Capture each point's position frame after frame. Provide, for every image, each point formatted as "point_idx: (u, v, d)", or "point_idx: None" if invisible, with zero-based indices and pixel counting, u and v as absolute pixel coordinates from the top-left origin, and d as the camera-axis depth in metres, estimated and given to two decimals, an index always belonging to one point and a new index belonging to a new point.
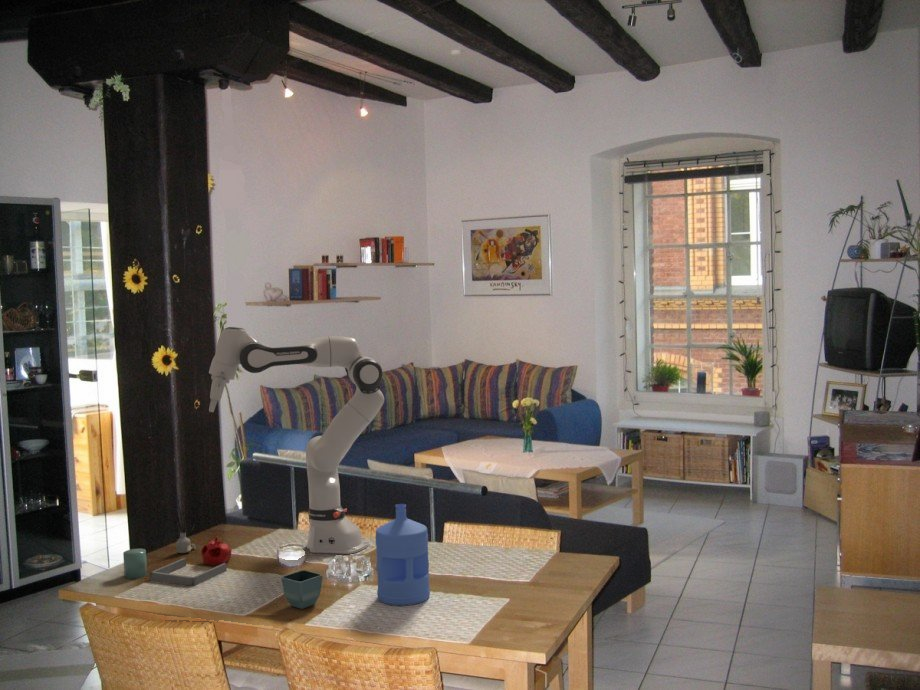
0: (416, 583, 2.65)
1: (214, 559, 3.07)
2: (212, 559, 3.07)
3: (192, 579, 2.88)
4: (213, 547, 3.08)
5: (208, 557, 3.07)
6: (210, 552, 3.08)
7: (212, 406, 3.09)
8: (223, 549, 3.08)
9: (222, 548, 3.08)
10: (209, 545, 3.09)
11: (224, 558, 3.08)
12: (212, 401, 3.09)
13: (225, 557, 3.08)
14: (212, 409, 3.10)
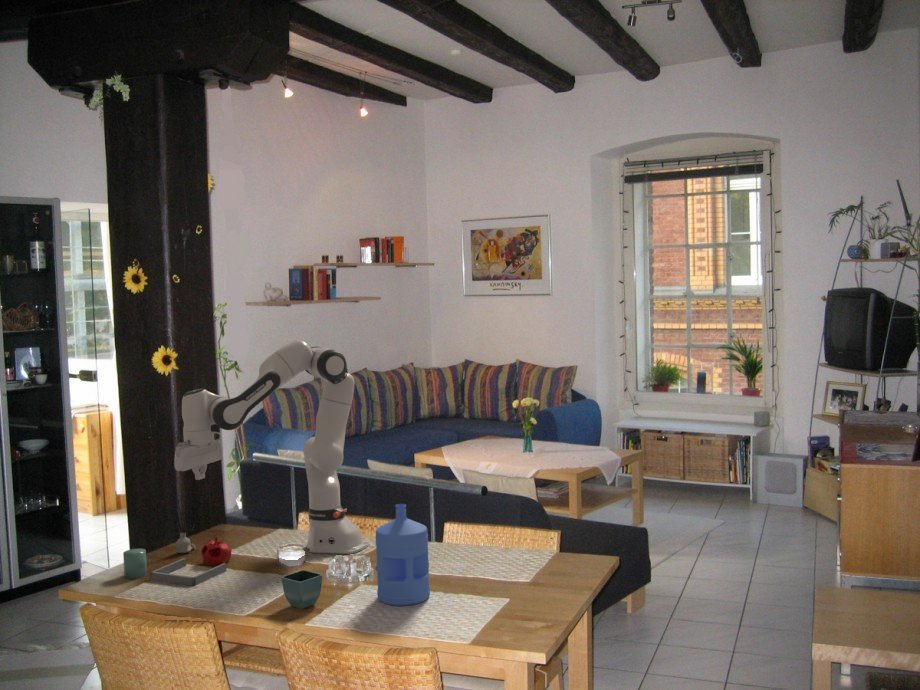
0: (416, 583, 2.65)
1: (214, 559, 3.07)
2: (212, 559, 3.07)
3: (192, 579, 2.88)
4: (213, 547, 3.08)
5: (208, 557, 3.07)
6: (210, 552, 3.08)
7: (196, 474, 3.02)
8: (223, 549, 3.08)
9: (222, 548, 3.08)
10: (209, 545, 3.09)
11: (224, 558, 3.08)
12: (193, 469, 3.02)
13: (225, 557, 3.08)
14: (197, 477, 3.03)
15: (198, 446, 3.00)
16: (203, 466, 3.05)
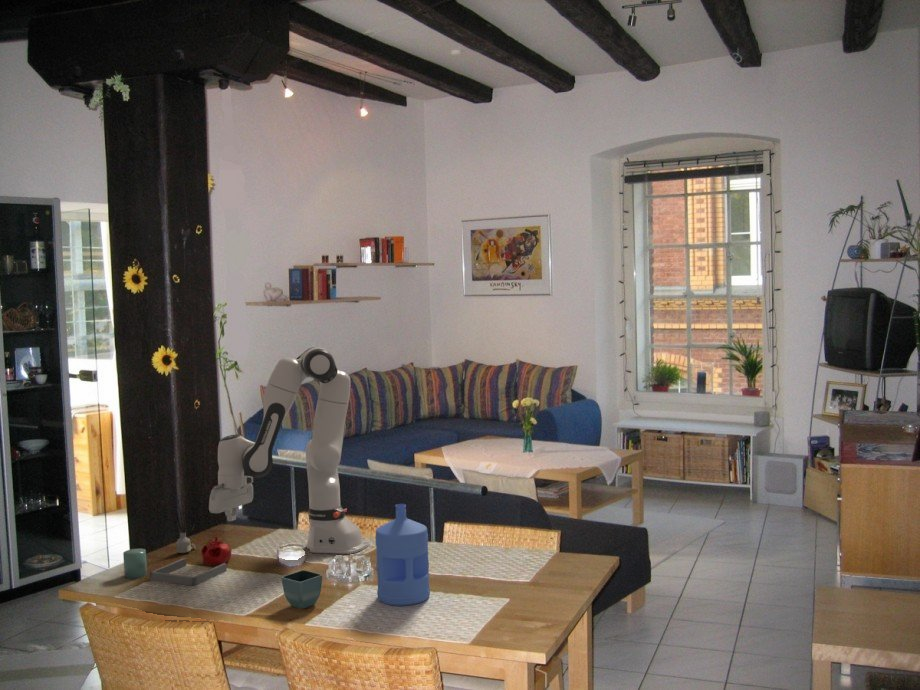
0: (416, 583, 2.65)
1: (214, 559, 3.07)
2: (212, 559, 3.07)
3: (192, 579, 2.88)
4: (213, 547, 3.08)
5: (208, 557, 3.07)
6: (210, 552, 3.08)
7: (228, 515, 3.18)
8: (223, 549, 3.08)
9: (222, 548, 3.08)
10: (209, 545, 3.09)
11: (224, 558, 3.08)
12: (225, 511, 3.17)
13: (225, 557, 3.08)
14: (229, 518, 3.18)
15: (232, 489, 3.16)
16: (235, 508, 3.20)
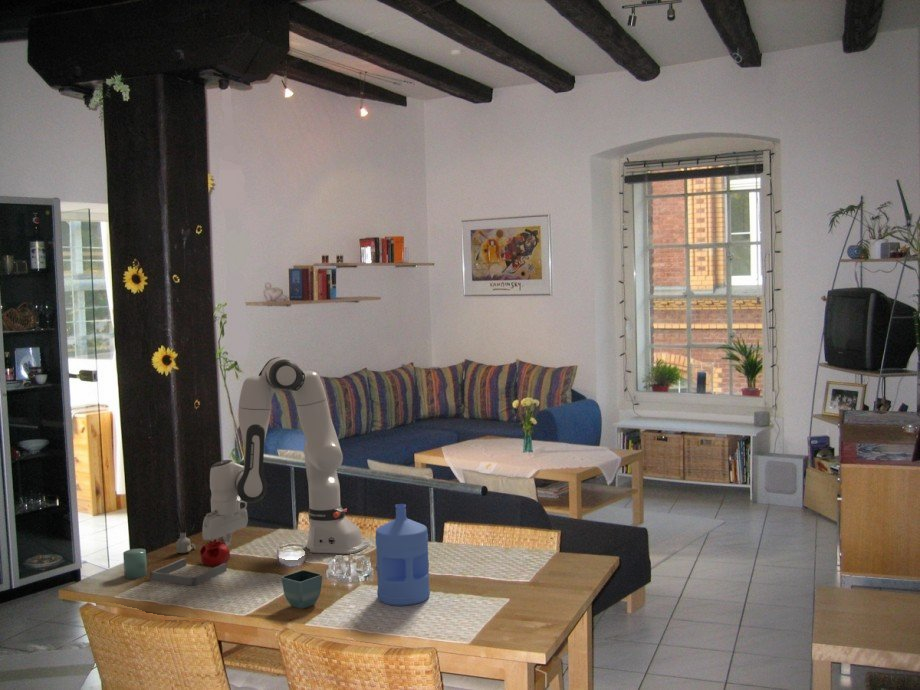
0: (416, 583, 2.65)
1: (212, 559, 3.06)
2: (210, 559, 3.06)
3: (192, 579, 2.88)
4: (211, 547, 3.07)
5: (206, 557, 3.06)
6: (208, 552, 3.08)
7: (222, 542, 3.15)
8: (221, 549, 3.08)
9: (220, 548, 3.08)
10: (207, 545, 3.09)
11: (222, 558, 3.07)
12: (219, 537, 3.14)
13: (223, 557, 3.08)
14: None
15: (225, 516, 3.12)
16: (229, 534, 3.17)
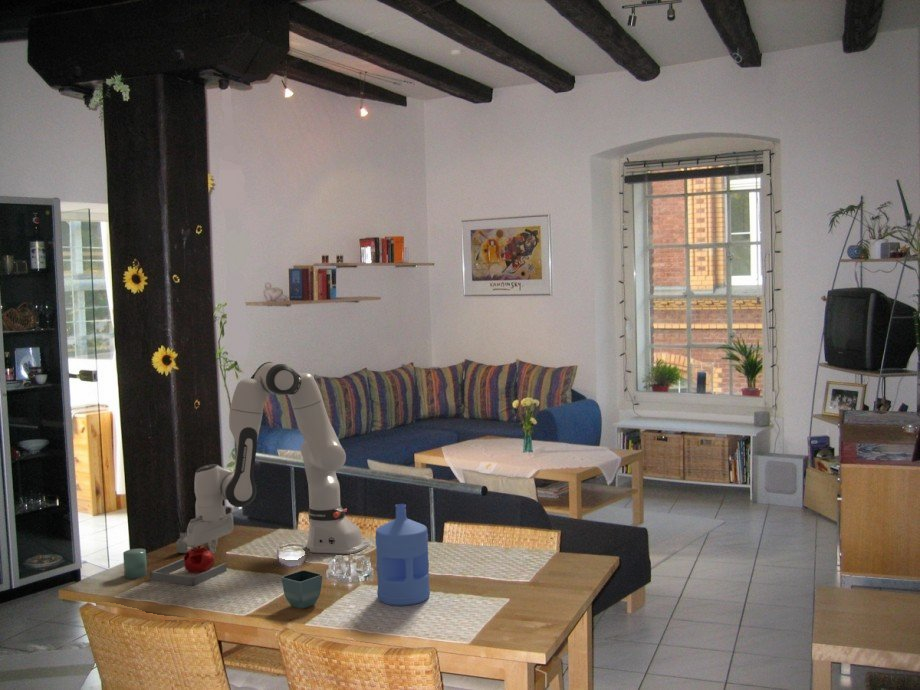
0: (416, 583, 2.65)
1: (195, 566, 2.99)
2: (193, 566, 2.99)
3: (192, 579, 2.88)
4: (195, 554, 3.00)
5: (189, 564, 2.99)
6: (192, 559, 3.01)
7: (207, 548, 3.08)
8: (205, 556, 3.00)
9: (204, 555, 3.00)
10: (191, 552, 3.02)
11: (206, 565, 3.00)
12: (204, 544, 3.07)
13: (207, 564, 3.00)
14: None
15: (210, 521, 3.05)
16: (214, 540, 3.10)
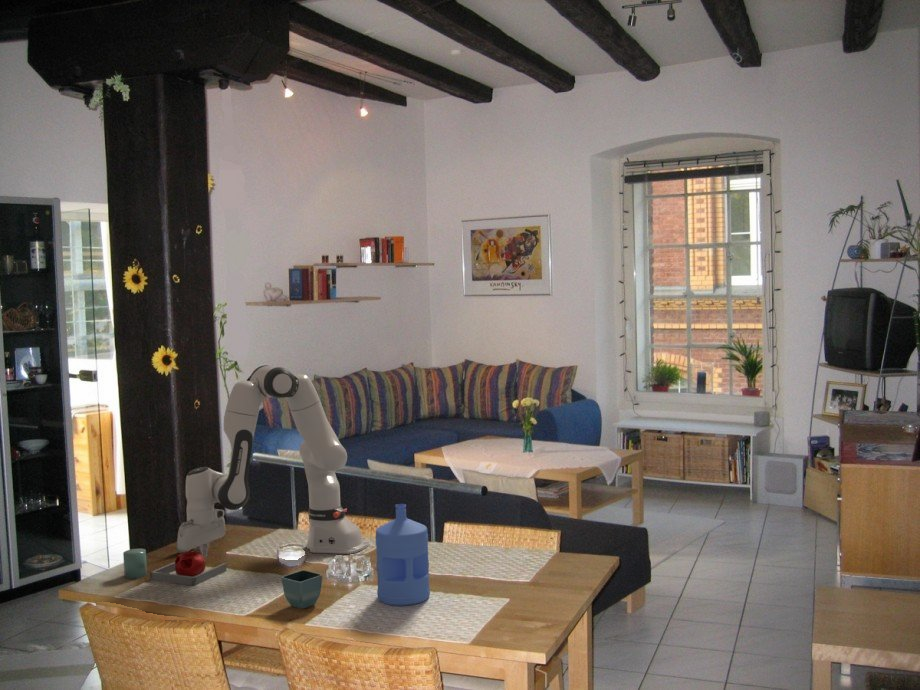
0: (416, 583, 2.65)
1: (185, 570, 2.95)
2: (183, 570, 2.95)
3: (192, 579, 2.88)
4: (185, 558, 2.96)
5: (179, 568, 2.95)
6: (182, 563, 2.97)
7: (199, 552, 3.03)
8: (195, 560, 2.96)
9: (194, 559, 2.96)
10: (182, 555, 2.98)
11: (196, 569, 2.96)
12: (196, 548, 3.03)
13: (197, 568, 2.96)
14: None
15: (201, 525, 3.01)
16: (206, 544, 3.05)
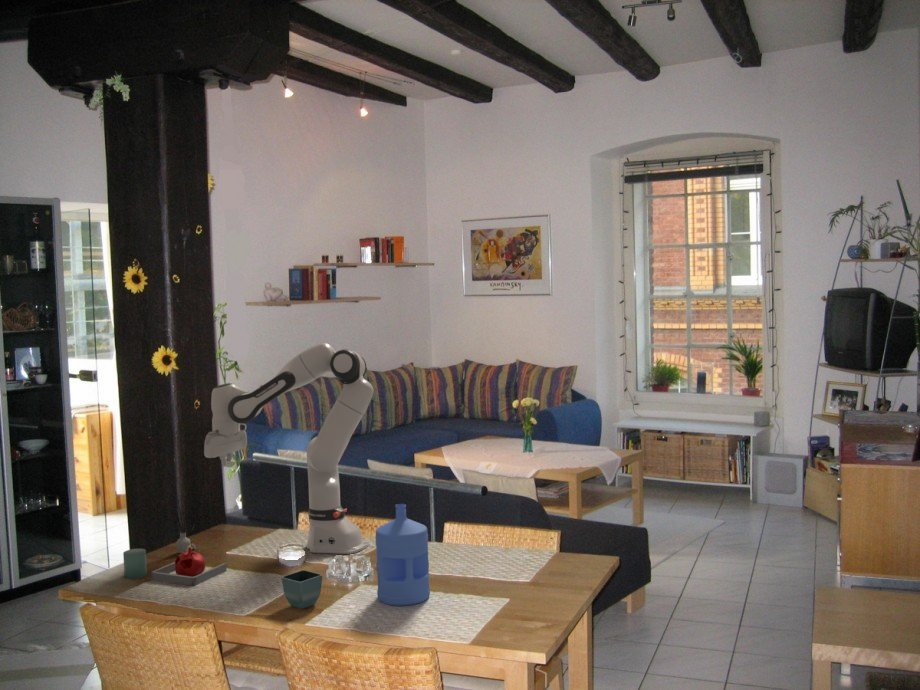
0: (416, 583, 2.65)
1: (185, 571, 2.95)
2: (183, 570, 2.95)
3: (192, 579, 2.88)
4: (185, 558, 2.96)
5: (179, 568, 2.95)
6: (182, 563, 2.97)
7: (223, 461, 3.30)
8: (195, 560, 2.96)
9: (194, 559, 2.96)
10: (182, 556, 2.98)
11: (196, 570, 2.96)
12: (220, 457, 3.29)
13: (197, 569, 2.96)
14: (224, 464, 3.30)
15: (226, 435, 3.28)
16: (229, 454, 3.32)
